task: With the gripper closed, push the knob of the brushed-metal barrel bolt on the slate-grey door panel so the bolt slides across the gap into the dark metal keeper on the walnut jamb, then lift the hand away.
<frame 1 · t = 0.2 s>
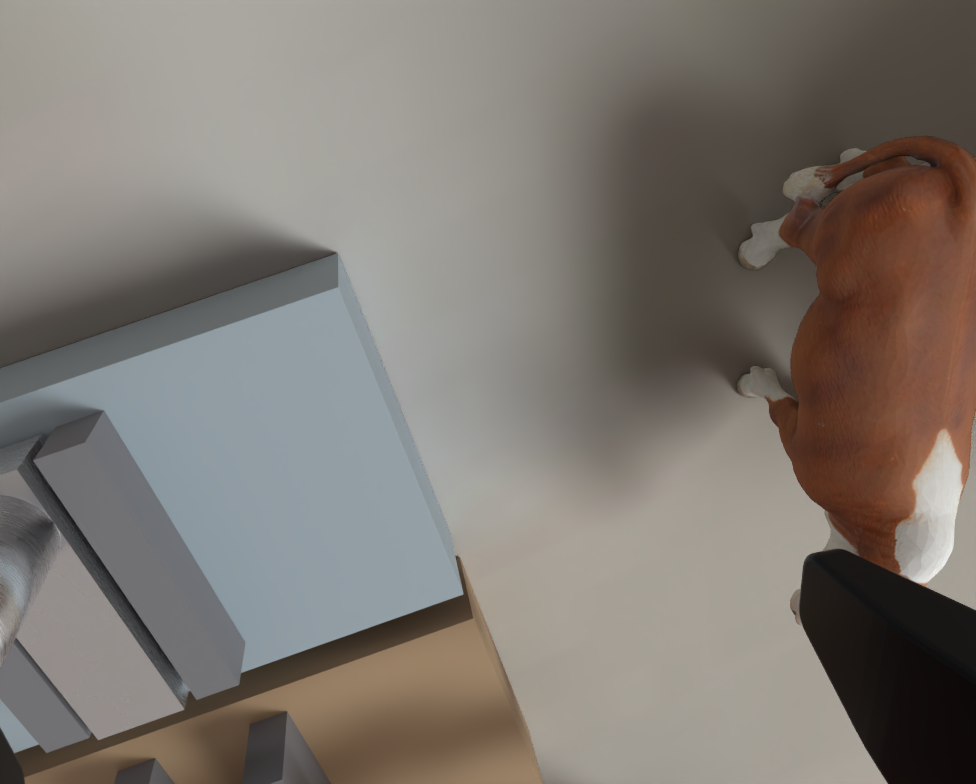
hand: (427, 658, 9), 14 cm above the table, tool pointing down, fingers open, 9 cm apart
jamb: (259, 734, 28), on the table
bull figurine: (778, 332, 25), on the table
bolt: (44, 653, 18), point 6 cm above the table, slide at 0.0 cm
door panel: (112, 507, 23), on the table
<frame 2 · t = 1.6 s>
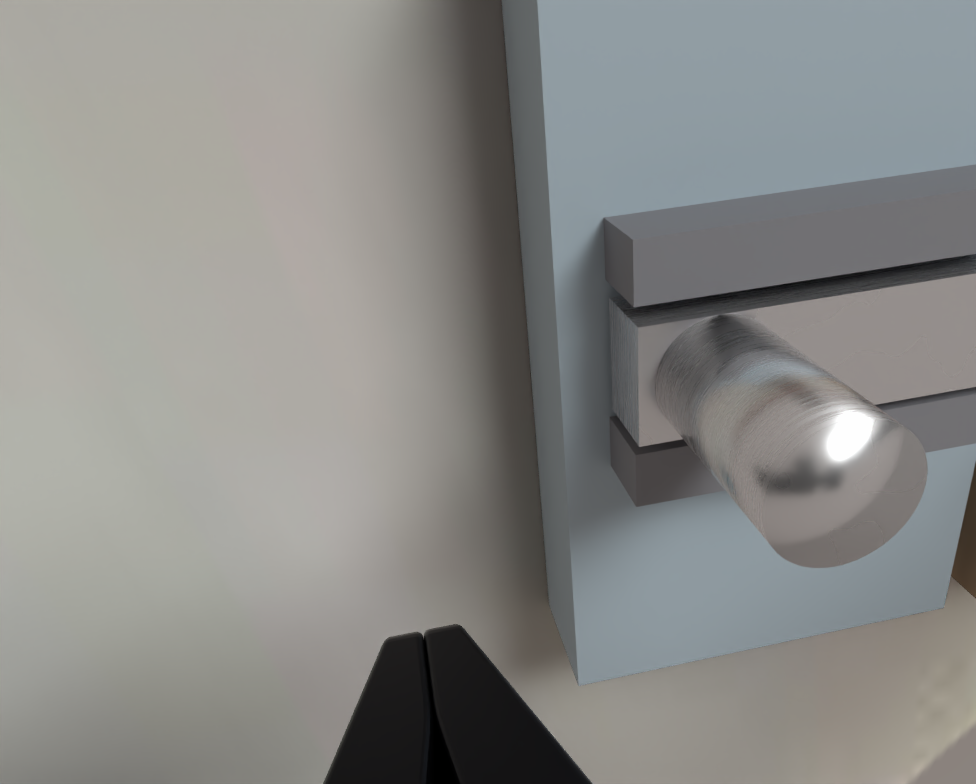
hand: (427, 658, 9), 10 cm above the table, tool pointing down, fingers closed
bolt: (886, 381, 13), point 6 cm above the table, slide at 0.0 cm
door panel: (729, 277, 19), on the table
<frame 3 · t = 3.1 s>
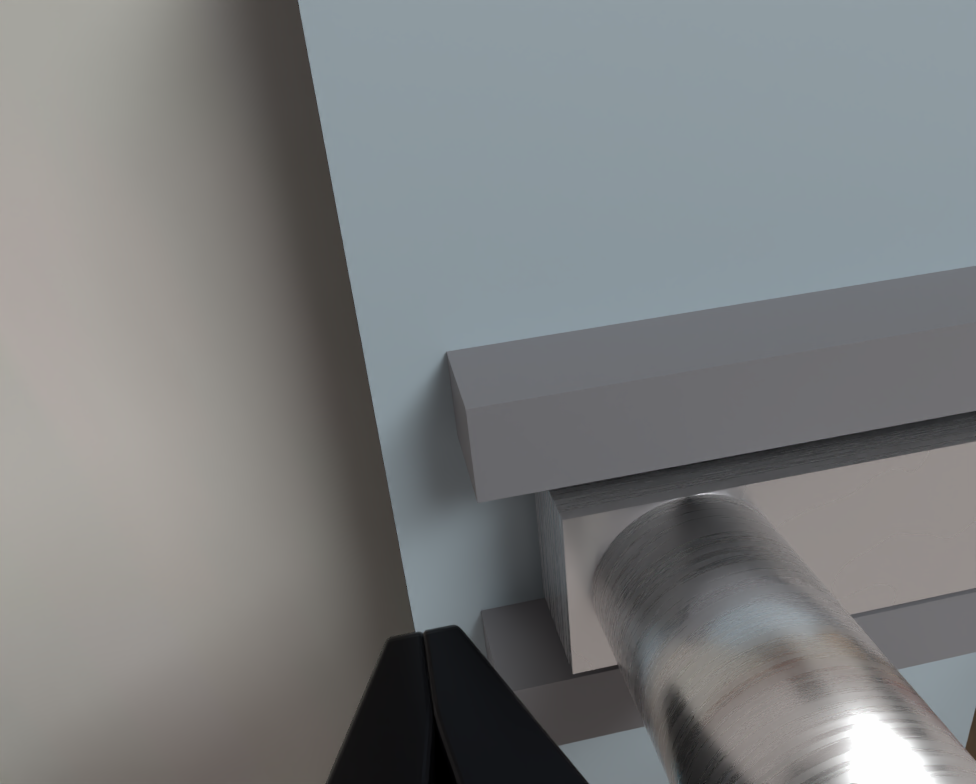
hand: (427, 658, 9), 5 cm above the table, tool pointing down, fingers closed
bolt: (940, 602, 9), point 6 cm above the table, slide at 0.9 cm, touching gripper
door panel: (663, 389, 14), on the table
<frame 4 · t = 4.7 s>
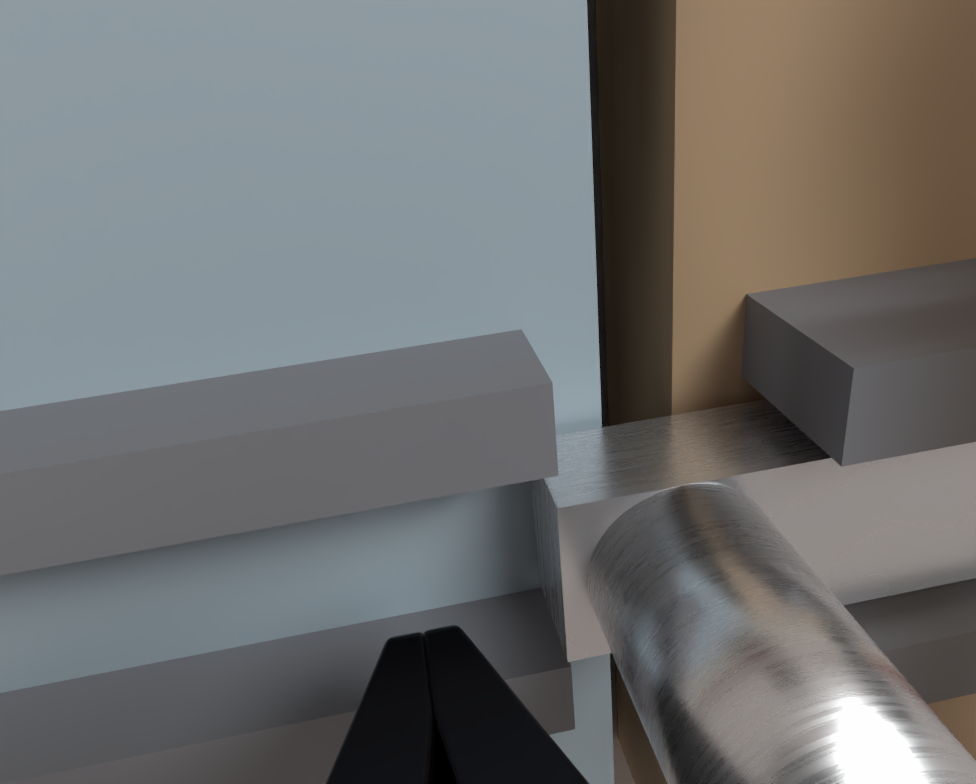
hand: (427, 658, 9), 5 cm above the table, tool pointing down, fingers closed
jamb: (842, 351, 14), on the table
bolt: (932, 592, 9), point 6 cm above the table, slide at 7.9 cm, touching gripper
door panel: (267, 448, 13), on the table
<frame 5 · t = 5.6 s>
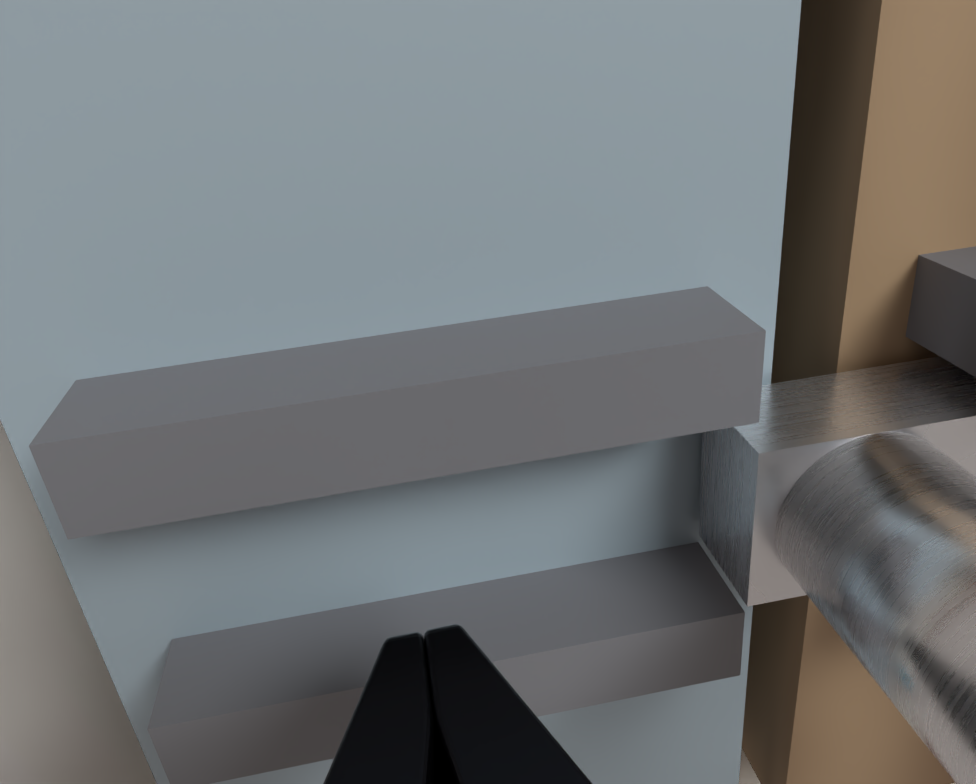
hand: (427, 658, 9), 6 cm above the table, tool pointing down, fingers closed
jamb: (963, 322, 15), on the table
door panel: (414, 410, 14), on the table
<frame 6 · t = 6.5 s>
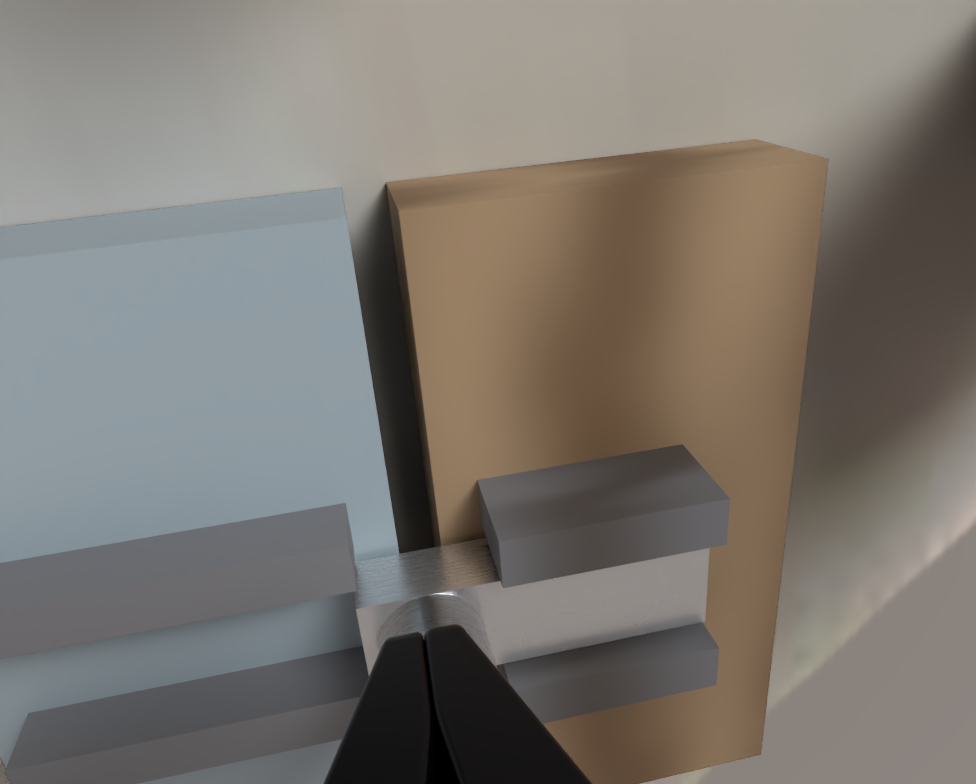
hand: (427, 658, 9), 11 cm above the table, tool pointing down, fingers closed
jamb: (585, 484, 22), on the table
bolt: (555, 653, 17), point 6 cm above the table, slide at 7.9 cm
door panel: (206, 551, 21), on the table
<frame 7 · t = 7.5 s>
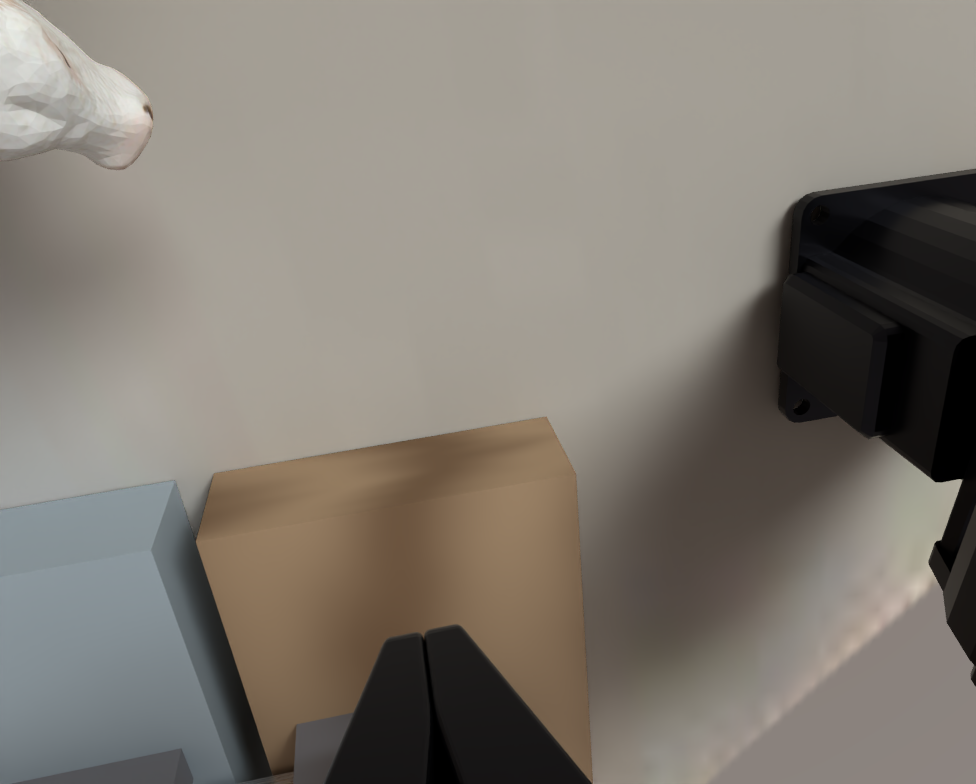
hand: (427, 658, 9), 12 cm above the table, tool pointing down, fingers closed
jamb: (427, 684, 25), on the table
door panel: (89, 754, 24), on the table
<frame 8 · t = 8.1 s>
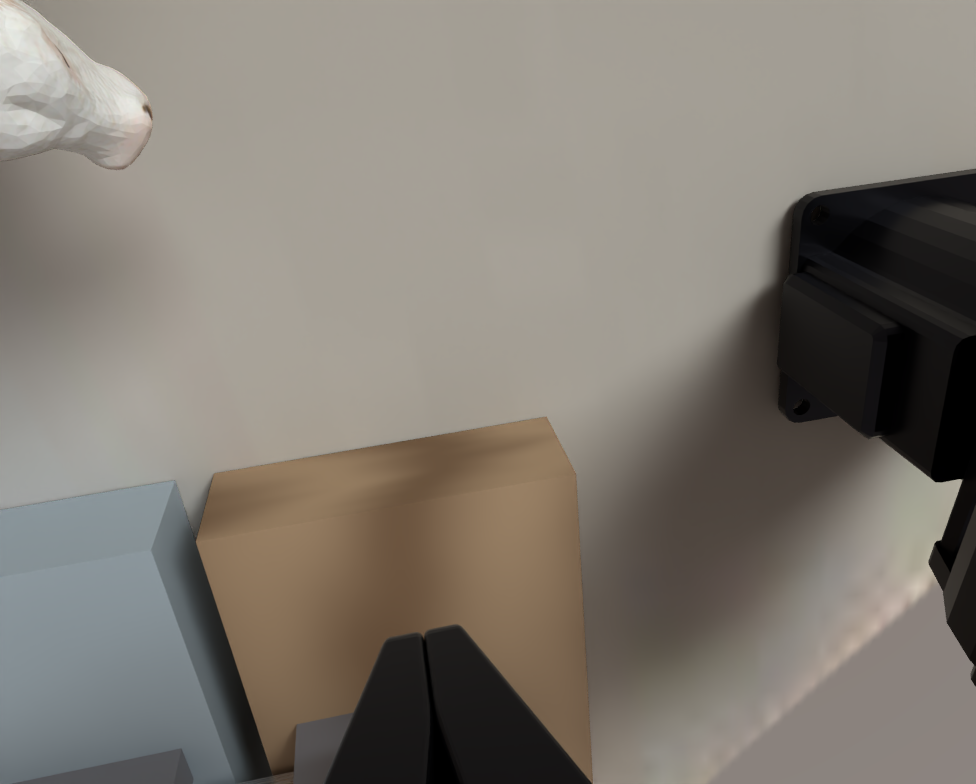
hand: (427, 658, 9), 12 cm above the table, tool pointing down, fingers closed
jamb: (428, 684, 25), on the table
door panel: (89, 754, 24), on the table
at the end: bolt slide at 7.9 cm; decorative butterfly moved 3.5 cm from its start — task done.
